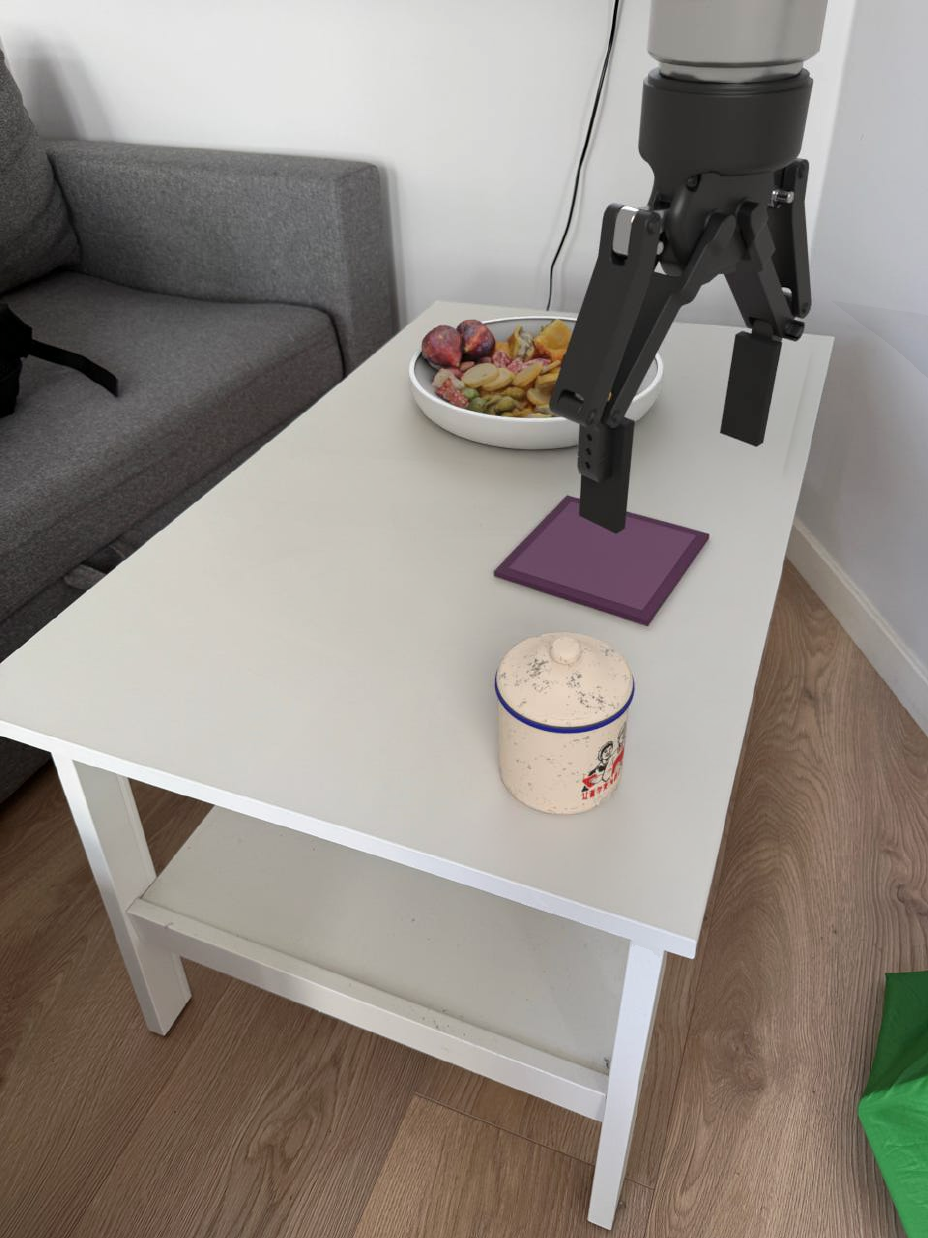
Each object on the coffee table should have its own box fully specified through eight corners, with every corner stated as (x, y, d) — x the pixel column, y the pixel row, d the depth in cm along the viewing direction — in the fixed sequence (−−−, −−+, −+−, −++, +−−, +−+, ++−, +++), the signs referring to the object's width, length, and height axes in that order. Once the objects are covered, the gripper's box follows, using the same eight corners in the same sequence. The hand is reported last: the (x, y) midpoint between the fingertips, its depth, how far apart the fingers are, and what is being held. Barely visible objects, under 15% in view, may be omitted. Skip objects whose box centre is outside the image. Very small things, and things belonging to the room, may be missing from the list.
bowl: (681, 367, 117) (689, 306, 112) (626, 480, 96) (633, 411, 91) (464, 341, 126) (462, 284, 121) (369, 440, 105) (362, 375, 100)
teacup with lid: (605, 836, 60) (617, 709, 53) (477, 798, 63) (472, 673, 56) (648, 715, 69) (663, 592, 62) (533, 687, 72) (535, 565, 64)
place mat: (709, 538, 87) (709, 533, 86) (648, 626, 77) (648, 620, 77) (566, 499, 93) (567, 494, 93) (493, 576, 83) (493, 570, 83)
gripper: (802, 27, 50) (741, 391, 63) (470, 97, 37) (481, 536, 50) (938, 37, 45) (842, 426, 59) (615, 120, 33) (585, 594, 46)
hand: (675, 477), depth 55 cm, fingers open, 13 cm apart
